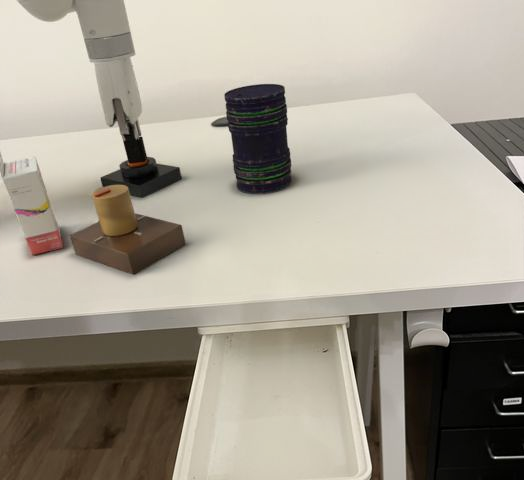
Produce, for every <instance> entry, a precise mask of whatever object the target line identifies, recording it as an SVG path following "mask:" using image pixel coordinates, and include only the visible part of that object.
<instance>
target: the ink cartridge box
mask: <svg viewBox="0 0 524 480" xmlns="http://www.w3.org/2000/svg"><path fill="white" fill-rule="evenodd" d="M0 177H1V180H2V183H3V185H4V188H5V190H6V192H7V196H8V198H9V201H10V202H11V205H12V208H13V210H14V213H15V216H16V218H17V220H18V223H19V226H20V228H21V230H22V233H23V236H24V238H25V240H26V243H27V246H28V248H29V251H30V254H31V255H32V256H34V255H39V254H42V253H47V252H50V251H54V250H58V249H63V248H64V245H63V244H64V243H63V240H62V235H61V230H60V226H59V224H58V221H57V218H56V215H55V212H54V209H53V206H52V203H51V200H50V197H49V194H48V191H47V188H46V184H45V181H44V179H43V176H42V171H41V170H40V166H39V163H38V160H37V157H36V156H30V157H29V156H28V157H25V158H21V159H17V160H12V161H7V162H4V160H3V156H2V153H1V151H0Z"/></svg>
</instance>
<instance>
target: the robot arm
mask: <svg viewBox="0 0 524 480" xmlns="http://www.w3.org/2000/svg"><path fill="white" fill-rule="evenodd" d="M16 1H17V3H19V5H21V7H22V8H23V9H25V11H26V12H27V13H28V14H29V15H31V16H32V17H34V18H35V19H38V20H40V21H41V22H47V23H53V22H57V21H61V20H62V19H64V18H65V17H66V16H67V15H68V14H71V13H74V12H75V13H76V15H77V19H78V22H79V26H80V29H81V33H82V37H83V41H84V45H85V48H86V53H87V57H88V60H89V62H90V63H93V65H94V71H95V73H94V74H95V78H96V84H97V89H98V93H99V97H100V102H101V106H102V111H103V115H104V120H105V124H106V125H107V126H108V128H113V127H114V126H115V124H116V123H117V126H118V130H119V134H120V135H121V136H120V137H121V138H122V143H123V147H124V150H125V155H126V158H127V160H128V162H129V163H130V164H131V163H139V162H145V161H146V159H147V157H148V156H147V155H148V154H147V152H146V147H145V142H144V138H143V136H142V131H141V126H140V121H139V118H140V116H141V114H142V112H143V105H142V99H141V94H140V90H139V86H138V82H137V78H136V74H135V70H134V65H133V62H132V59H131V58H132V57H135V56H136V50H135V44H134V40H133V36H132V32H131V27H130V22H129V19H128V13H127V9H126V4H125V0H16Z"/></svg>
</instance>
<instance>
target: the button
mask: <svg viewBox="0 0 524 480" xmlns="http://www.w3.org/2000/svg"><path fill="white" fill-rule="evenodd" d="M146 163H148V162H147V159H146V161H145V162H139V163H131V164H130V163H129V162H128V163H127V164H128V166H130V167H133V166H140V165H144V164H146Z"/></svg>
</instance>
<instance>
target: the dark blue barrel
mask: <svg viewBox="0 0 524 480" xmlns="http://www.w3.org/2000/svg"><path fill="white" fill-rule="evenodd" d="M285 94H286V88H285V86H284V85H282V84H277V83H259V84H258V83H257V84H251V85H245V86H240V87H239V86H238V87H235V88H233V89H230V90H228V91H226V92H225V93H224V94H223V96H224V101H225V110H226V111H225V114H226V120H227V128H228V132H230V137H231V144H232V150H233V151H232V152H233V154H232V164H233V173H234V175H235V179H236V188H237V190H238V191H240V192H242V193H245V194H248V195H249V194H250V195H263V194H271V193H276V192H279V191H282V190H284V189H286V188H288V187H290V185H291V184H292V182H293V177H292V175H291V174H292V158H291V149H290V147H289V144H288V132H287V127H288V124H289V123H288V120H289V118H288V114H287V113H288V105H287V103H286V102H287V99H286V96H285Z"/></svg>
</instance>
